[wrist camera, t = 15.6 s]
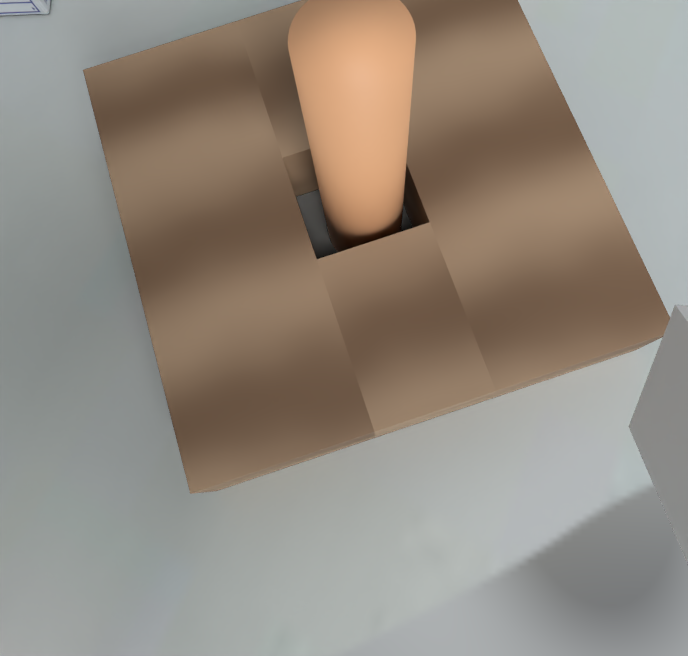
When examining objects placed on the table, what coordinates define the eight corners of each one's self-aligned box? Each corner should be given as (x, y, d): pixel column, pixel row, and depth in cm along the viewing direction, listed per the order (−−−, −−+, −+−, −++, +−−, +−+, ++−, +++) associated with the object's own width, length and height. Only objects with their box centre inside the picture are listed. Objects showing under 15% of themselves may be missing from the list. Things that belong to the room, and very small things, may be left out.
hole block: (118, 117, 29) (83, 70, 25) (475, 2, 29) (488, -60, 26) (216, 491, 24) (190, 493, 21) (635, 350, 25) (675, 330, 21)
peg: (319, 208, 27) (272, 6, 15) (387, 186, 27) (391, -32, 15) (341, 272, 26) (309, 110, 15) (411, 249, 26) (434, 70, 15)
